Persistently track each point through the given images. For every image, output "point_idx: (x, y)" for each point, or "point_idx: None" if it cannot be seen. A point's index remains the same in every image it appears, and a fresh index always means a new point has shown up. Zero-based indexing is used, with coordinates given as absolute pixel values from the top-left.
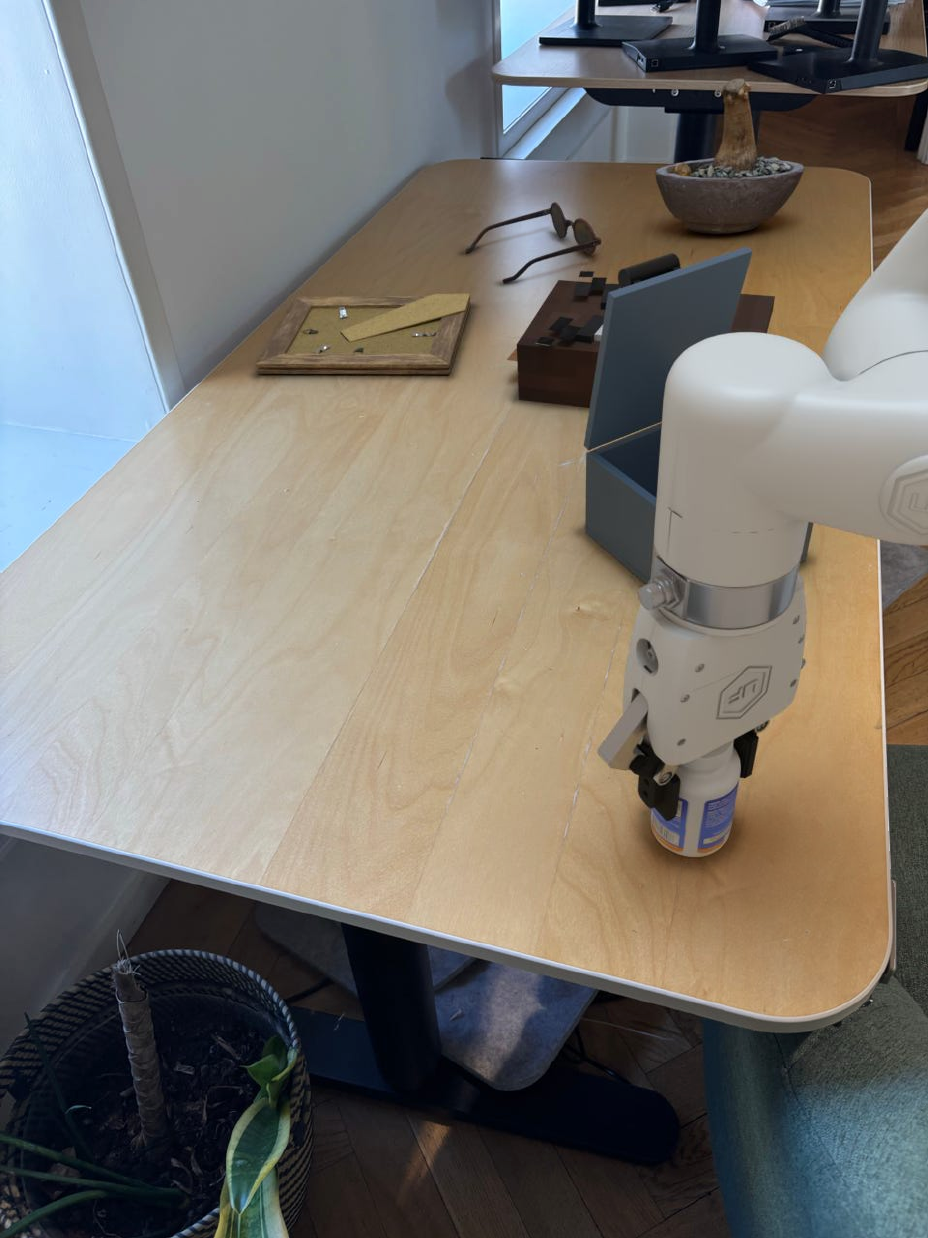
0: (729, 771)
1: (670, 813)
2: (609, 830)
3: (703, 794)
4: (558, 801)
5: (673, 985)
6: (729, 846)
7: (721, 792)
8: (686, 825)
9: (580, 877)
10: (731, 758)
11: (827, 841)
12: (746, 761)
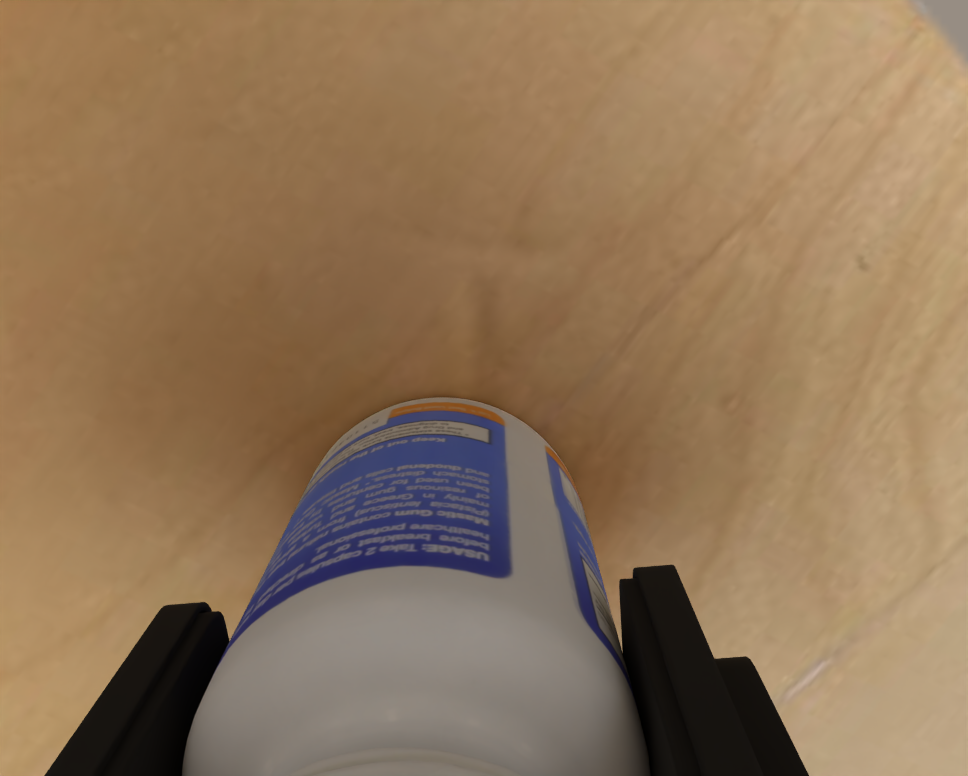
0: (310, 691)
1: (682, 597)
2: None
3: (525, 623)
4: None
5: (887, 8)
6: (365, 397)
7: (416, 591)
8: (557, 517)
9: (882, 516)
10: (246, 757)
11: (25, 256)
12: (160, 690)
